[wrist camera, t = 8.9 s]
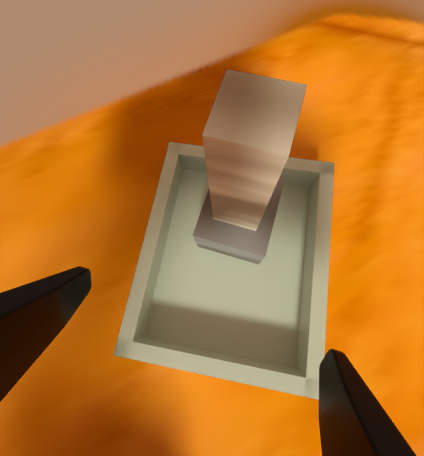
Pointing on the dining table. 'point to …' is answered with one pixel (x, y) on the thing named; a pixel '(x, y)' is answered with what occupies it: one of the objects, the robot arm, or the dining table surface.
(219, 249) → the square pillar on base
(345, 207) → the dining table surface
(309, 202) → the tray
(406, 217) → the dining table surface
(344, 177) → the dining table surface
